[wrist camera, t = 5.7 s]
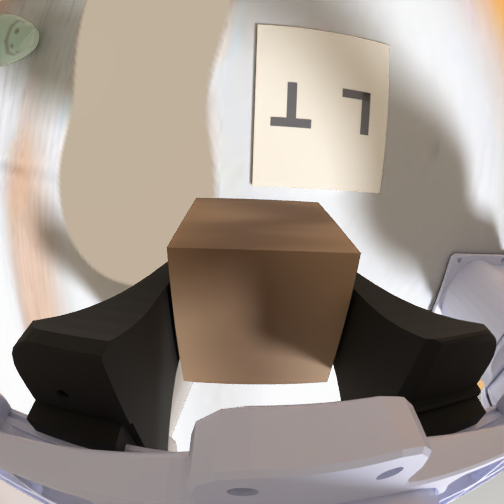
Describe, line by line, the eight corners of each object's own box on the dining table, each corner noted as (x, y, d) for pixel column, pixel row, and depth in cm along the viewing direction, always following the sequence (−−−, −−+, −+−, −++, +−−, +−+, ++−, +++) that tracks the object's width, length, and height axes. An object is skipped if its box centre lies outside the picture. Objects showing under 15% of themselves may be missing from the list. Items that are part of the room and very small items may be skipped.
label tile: (388, 45, 15) (389, 45, 15) (378, 192, 20) (379, 193, 19) (257, 25, 15) (257, 24, 14) (252, 185, 19) (252, 186, 19)
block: (318, 202, 12) (360, 253, 8) (304, 304, 14) (327, 381, 10) (196, 197, 12) (166, 247, 7) (199, 301, 14) (183, 381, 9)
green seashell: (76, 30, 14) (21, 10, 8) (53, 79, 15) (-7, 76, 9) (16, 19, 12) (-35, 9, 6) (-3, 62, 13) (-57, 61, 7)
